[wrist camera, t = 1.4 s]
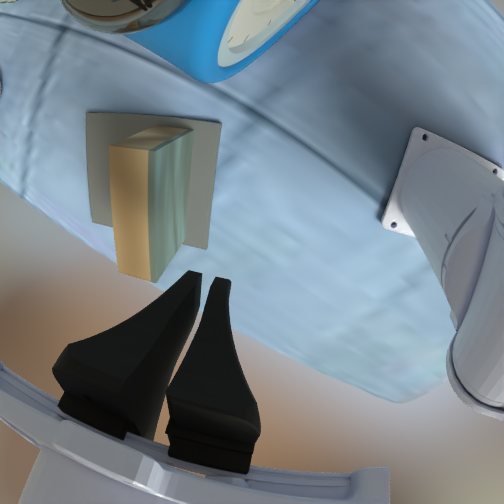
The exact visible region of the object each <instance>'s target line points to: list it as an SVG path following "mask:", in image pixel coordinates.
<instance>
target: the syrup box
mask: <svg viewBox="0 0 504 504" xmlns="http://www.w3.org/2000/svg"><path fill="white" fill-rule="evenodd" d="M16 1H18V0H0V3H12V2H16Z"/></svg>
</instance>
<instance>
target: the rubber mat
mask: <svg viewBox="0 0 504 504" xmlns="http://www.w3.org/2000/svg"><path fill="white" fill-rule="evenodd" d="M154 126H166V127H175V128H183V129H191V130H194V138H193V148H192V158H191V170H190V182H189V196H188V211H187V229H186V239H185V240H184V242H183V243H182V244H184V245H188V246H192V247H196V248H201V249H205V250H206V249H207V247H208V236H209V226H210V216H211V207H212V198H213V189H214V180H215V172H216V164H217V156H218V148H219V140H220V133H221V126H222V123H218V122H211V121H204V120H196V119H188V118H179V117H169V116H158V115H145V114H128V113H99V112H89V113H86V151H87V171H88V185H89V196H90V206H91V215H92V222H93V223H97V224H101V225H105V226H109V227H113V219H112V207H111V192H110V171H109V146H110V145H112V144H115V143H117V142H119V141H121V140H123V139H125V138H128V137H130V136H132V135H135V134H137V133H139V132H142V131H144V130H146V129H149V128H151V127H154Z"/></svg>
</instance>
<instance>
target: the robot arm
mask: <svg viewBox="0 0 504 504" xmlns="http://www.w3.org/2000/svg"><path fill="white" fill-rule="evenodd" d="M424 134H426V135H427V138H426V139H425V140H423V139H422V136H423V135H424ZM494 169H495V172H494V173H493V170H494ZM392 222H396V224H395V225H393V226H391V223H392ZM381 224H382V226H383V228H385V229H388V230H392V231H395V232H399V233H402V234H405V235H409V236H412V237H415V238H417V240H418V242H419V244H420V246H421V248H422V249H423V251H424V253H425V255H426V257H427V259H428V261H429V263H430V265H431V267H432V269H433V271H434V273H435V275H436V277H437V279H438V281H439V283H440V285H441V287H442V289H443V291H444V293H445V296H446V298H447V300H448V303H449V305H450V307H451V313H450V317H451V320H452V322H453V325H454V327H455V330H456V331H457V332H456V334H455V335H454V337H453V339H452V341H451V343H450V345H449V348H448V351H447V356H446V369H447V375H448V378H449V382H450V384H451V386H452V388H453V390H454V392H455V393H456V394H457V396H458V397H459V398H460V399H461V400H462V401H463V403H465V404H466V405H467V406H468V407H470V408H471V409H472V410H474V411H476V412H478V413H480V414H484V415H487V416H491V417H494V418H497V419H499V420H501V421H502V422H504V170H503V169H501V168H500V167H498V166H496V165H495V164H493V163H491V162H489V161H488V160H486V159H484V158H482V157H480V156H479V155H477V154H475V153H473V152H471V151H469V150H467V149H465V148H463V147H461V146H459V145H457V144H455V143H453V142H451V141H449V140H447V139H445V138H443V137H440V136H438V135H436V134H434V133H431V132H429V131H427V130H424V129H422V128H419V127H416V128H414V129H413V130H412V132H411V136H410V139H409V142H408V145H407V149H406V152H405V155H404V158H403V161H402V164H401V167H400V170H399V173H398V176H397V179H396V182H395V184H394V187H393V190H392V193H391V195H390V198H389V201H388V203H387V206H386V209H385V211H384V214H383V216H382V219H381ZM201 282H202V273H198V272H194V271H190V270H189V271H187V272H186V273H185V274H184V275H183V276H182V277H181V278H180V279H179V280H178V281H177V282H176V283H174V284H173V285H172V286H171V287H170V288H169V289H168V290H167V291H165V292H164V293H163V294H162V295H161V296H160V297H158V298H157V299H156V300H155V301H153V302H152V303H151V304H149V305H148V306H147V307H145V308H144V309H143V310H141V311H140V312H138V313H137V314H135V315H133V316H132V317H130V318H129V319H127V320H125V321H124V322H122V323H120V324H118V325H116V326H115V327H112V328H110V329H109V330H106V331H104V332H102V333H99V334H97V335H95V336H92V337H89V338H87V339H84V340H81V341H78V342H74V343H71V344H68V345H67V347H66V348H65V349H64V350H63V352H62V353H61V355H60V356H59V358H58V359H57V361H56V363H55V364H54V366H53V368H52V372H53V375H54V377H55V378H56V380H57V381H58V383H59V384H60V386H61V387H62V389H63V390H64V394H63V396H62V397H61V399H60V400H58V399H56V398H54V397H52V396H51V395H49V394H47V393H45V392H44V391H42V390H40V389H39V388H37V387H35V386H34V385H32V384H31V383H29V382H27V381H25V380H24V379H23V378H21V377H20V376H18V375H17V374H15V373H14V372H12V371H11V370H9V369H8V368H6V367H5V366H4V365H3V363H2V362H1V361H0V420H1V421H3V422H4V423H5V424H7V425H8V426H9V427H10V428H12V429H13V430H14V431H16V432H17V433H18V434H20V435H21V436H23V437H24V438H25V439H27V440H28V441H30V442H31V443H32V444H34V445H35V446H37V447H38V448H40V449H41V450H40V452H39V455H38V457H37V459H36V461H35V463H34V466H33V468H32V470H31V473H30V475H29V477H28V480H27V482H26V485H25V487H24V490H23V492H22V495H21V497H20V500H19V503H18V504H390V478H389V467H369V468H360V469H357V470H355V471H353V472H352V473H319V472H303V471H291V470H281V469H273V468H265V467H258V466H252V465H250V463H251V457H252V454H253V451H254V445H255V443H256V441H257V439H258V437H259V436H260V433H261V423H260V416H259V411H258V407H257V402H256V400H255V398H254V396H253V394H252V392H251V390H250V388H249V386H248V384H247V381H246V379H245V377H244V374H243V371H242V368H241V365H240V363H239V360H238V356H237V353H236V349H235V345H234V341H233V336H232V331H231V324H230V315H229V295H230V289H231V281H230V280H229V279H224V278H220V277H215V279H214V281H213V283H212V285H211V287H210V290H209V293H208V297H207V300H206V304H205V307H204V311H203V315H202V318H201V321H200V324H199V327H198V329H197V331H196V334H195V336H194V339H193V340H192V342H191V345H190V347H189V349H188V351H187V353H186V355H185V357H184V359H183V361H182V363H181V365H180V367H179V369H178V371H177V372H176V374H175V376H174V378H173V380H172V381H171V383H170V385H169V382H170V379H171V376H172V372H173V370H174V367H175V365H176V362H177V360H178V358H179V356H180V353H181V351H182V349H183V347H184V345H185V343H186V340H187V338H188V336H189V334H190V332H191V330H192V328H193V325H194V323H195V320H196V316H197V313H198V310H199V307H200V297H201ZM168 385H169V386H168ZM165 395H166V397H167V403H168V409H169V414H170V419H169V422H168V425H167V428H166V431H165V433H166V434H168V438H169V442H170V446H166V445H163V444H160V443H157V442H154V441H153V440H154V436H155V431H156V427H157V423H158V419H159V416H160V412H161V409H162V405H163V401H164V398H165ZM163 463H164V464H163ZM166 464H167V465H166ZM169 465H170V466H169ZM171 466H174V467H178V468H181V469H184V470H188V471H192V472H196V473H200V474H204V475H206V476H205V477H201V476H198V475H195V474H192V473H189V472H186V471H183V470H180V469H177V468H174V467H171Z"/></svg>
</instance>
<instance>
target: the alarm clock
mask: <svg viewBox="0 0 504 504" xmlns="http://www.w3.org/2000/svg"><path fill="white" fill-rule="evenodd" d="M318 1H319V0H60V2H61V4H62V6H63V7H64V9H65V10H66V12H67V13H68V14H69V15H70V16H71V17H72V18H73V19H74V20H76V21H77V22H79V23H80V24H82V25H83V26H85V27H87V28H89V29H92V30H94V31H98V32H101V33H107V34H122V35H124V36H126V37H128V38H130V39H131V40H133V41H135V42H137V43H138V44H140V45H142V46H144V47H145V48H147V49H149V50H150V51H152V52H154V53H155V54H157V55H159V56H160V57H162V58H163V59H165V60H167V61H168V62H170V63H171V64H173V65H175V66H176V67H178V68H179V69H181V70H182V71H184V72H185V73H187V74H188V75H190V76H191V77H193V78H194V79H196V80H199V81H201V82H204V83H215V82H219V81H222V80H225V79H227V78H229V77H231V76H233V75H235V74H236V73H238V72H240V71H241V70H242V69H244V68H245V67H247V66H248V65H249V64H250V63H252V62H253V61H254V60H255V59H257V58H258V57H259V56H260V55H262V54H263V53H264V52H265V51H266V50H267V49H268V48H270V47H271V46H272V45H273V44H274V43H275V42H276V41H277V40H278V39H280V38H281V37H282V36H283V35H284V34H285V33H286V32H287V31H288V30H289V29H290V28H291V27H292V26H293V25H295V24H296V23H297V22H298V21H299V20H300V19H301V18H302V17H303V16H304V15H305V14H306V13H307V12H308V11H309V10H310V9H311V8H312V7H313V6H314V5H315V4H316V3H317V2H318Z"/></svg>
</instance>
